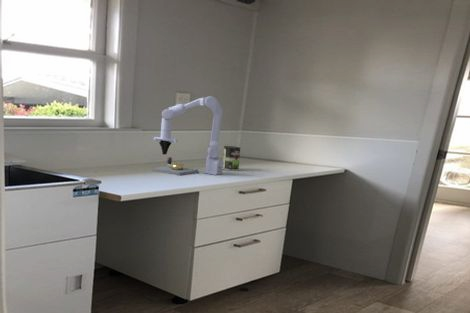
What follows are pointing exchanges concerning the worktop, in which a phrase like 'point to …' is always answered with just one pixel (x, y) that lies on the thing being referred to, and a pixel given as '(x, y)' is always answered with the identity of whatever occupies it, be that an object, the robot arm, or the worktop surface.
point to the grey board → (173, 171)
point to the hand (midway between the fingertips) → (164, 154)
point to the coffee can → (231, 158)
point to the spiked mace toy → (174, 166)
